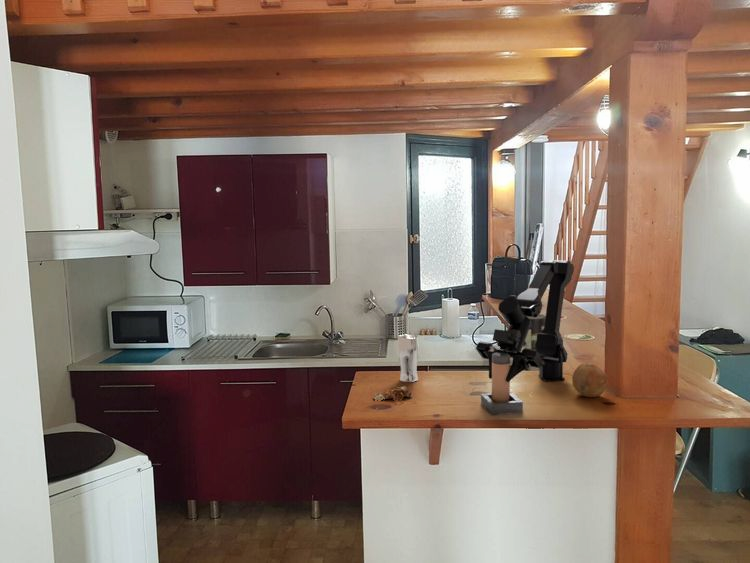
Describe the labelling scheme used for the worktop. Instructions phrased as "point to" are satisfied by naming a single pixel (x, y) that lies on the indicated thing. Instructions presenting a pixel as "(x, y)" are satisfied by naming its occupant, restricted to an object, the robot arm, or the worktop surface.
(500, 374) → the cylindrical peg
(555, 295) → the robot arm
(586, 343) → the worktop surface
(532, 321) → the coffee can
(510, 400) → the collar
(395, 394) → the mottled brown lump
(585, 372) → the mottled tan ball
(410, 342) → the beer glass
